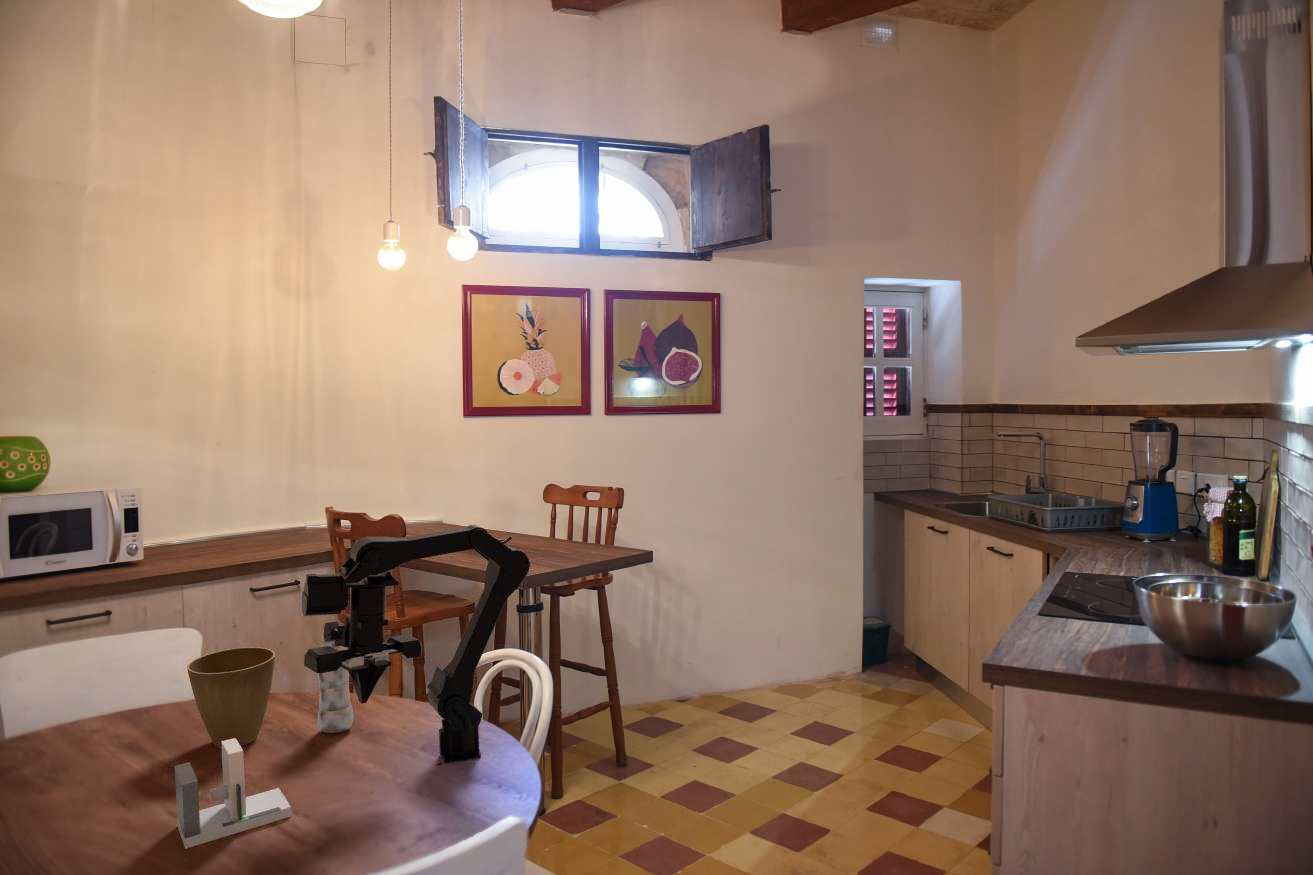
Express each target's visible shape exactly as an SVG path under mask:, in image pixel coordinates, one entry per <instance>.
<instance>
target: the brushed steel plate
mask: <svg viewBox="0 0 1313 875" xmlns="http://www.w3.org/2000/svg"><path fill="white" fill-rule="evenodd" d="M174 778H175V780H174V782H175V802H176V803H175V804H176V817H177V818H178V821H179V824H180V826H181V829H182V832H183V835H184V838H185V839H186V838H189V837H192V836H196V835H199V834H200V816H199V810H200V800H199V799H200V798H199V782H198V778H197V775H196V774H195V772H194V769H193V767H192V764H191V762H190V761H189V762H184V763H181V764H177V765H174ZM177 818H176V819H177Z"/></svg>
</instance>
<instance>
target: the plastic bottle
mask: <svg viewBox="0 0 1313 875" xmlns="http://www.w3.org/2000/svg"><path fill="white" fill-rule="evenodd" d="M321 642H322V644H321V646H320V647H326V646H330V647H332V648H334V649H335V650H337V651H341V650H347V649H348V647H343V646H335V642H334V641H329V642H326V641H325V640H324V629H323V630H322V632H321ZM316 674H317V679H318V686H319V687H318V690H319V699H318V700H319V701H318V702H319V705H318V712H317V725H318V728H319V729H320V731H321V732H323V733H325V734H337V733H342V732H344V731H347V730H349V729H350V728H351V726H352V725H353V722H354V715H355V714H354V709H353V706H352V703H351V701H352V700H351V695H350V674H349V672H348V671H347V670H346V669H344V668H342V667H340V668H339V669H338V670H337V671H332V672H326V673H316Z"/></svg>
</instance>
